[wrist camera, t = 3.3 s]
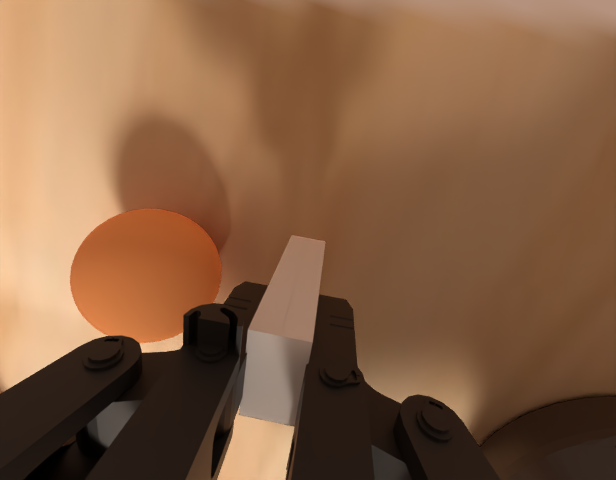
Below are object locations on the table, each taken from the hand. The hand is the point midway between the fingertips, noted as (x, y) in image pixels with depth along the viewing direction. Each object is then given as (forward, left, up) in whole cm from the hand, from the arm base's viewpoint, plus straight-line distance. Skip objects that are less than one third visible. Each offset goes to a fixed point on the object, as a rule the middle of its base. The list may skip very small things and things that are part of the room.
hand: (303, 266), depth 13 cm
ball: (+5, +5, 0) cm, 7 cm away
